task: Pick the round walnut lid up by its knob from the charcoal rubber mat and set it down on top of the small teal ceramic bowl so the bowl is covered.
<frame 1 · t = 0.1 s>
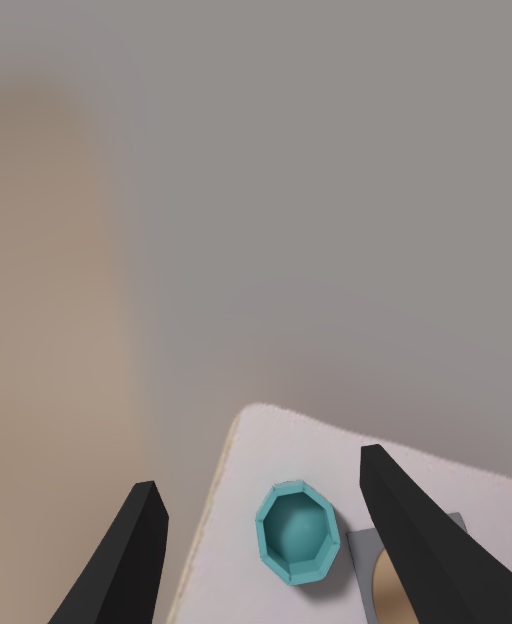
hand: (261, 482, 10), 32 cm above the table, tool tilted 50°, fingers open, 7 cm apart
lid: (426, 598, 32), resting on mat
bowl: (294, 522, 36), on the table
mat: (424, 596, 33), on the table
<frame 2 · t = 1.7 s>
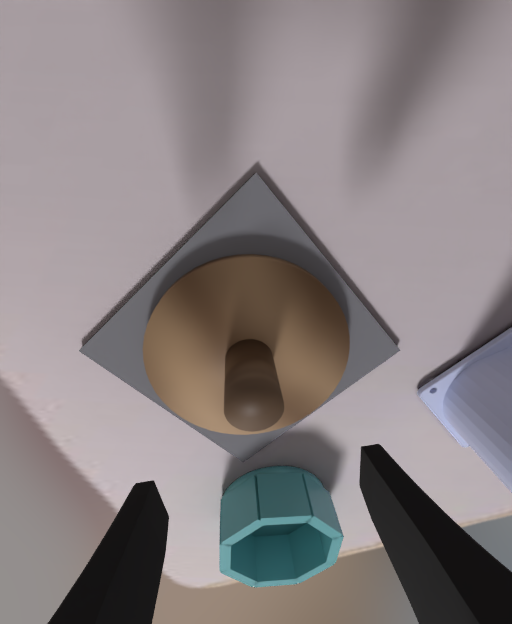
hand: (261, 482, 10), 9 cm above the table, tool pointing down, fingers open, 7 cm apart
lid: (248, 350, 18), resting on mat
bowl: (273, 500, 25), on the table
mat: (247, 347, 18), on the table
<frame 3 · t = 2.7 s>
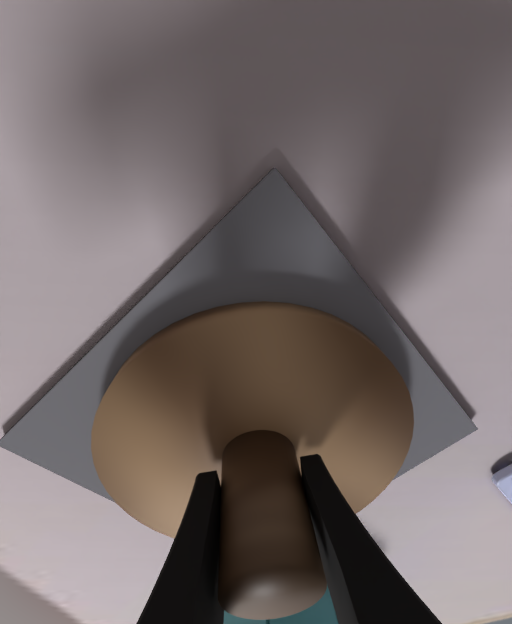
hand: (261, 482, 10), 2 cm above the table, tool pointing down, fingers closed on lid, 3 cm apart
lid: (256, 436, 12), resting on mat, touching gripper
bowl: (286, 599, 19), on the table
mat: (255, 428, 12), on the table
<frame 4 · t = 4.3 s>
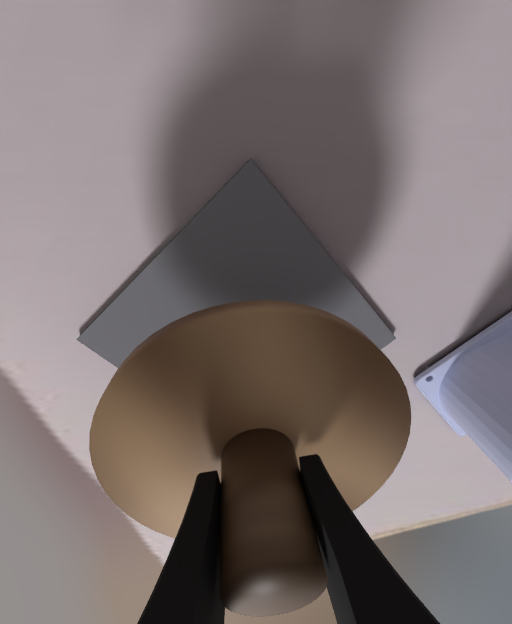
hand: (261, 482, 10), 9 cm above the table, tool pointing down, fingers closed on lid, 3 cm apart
lid: (255, 434, 12), point 7 cm above the table, touching gripper
mat: (244, 335, 18), on the table
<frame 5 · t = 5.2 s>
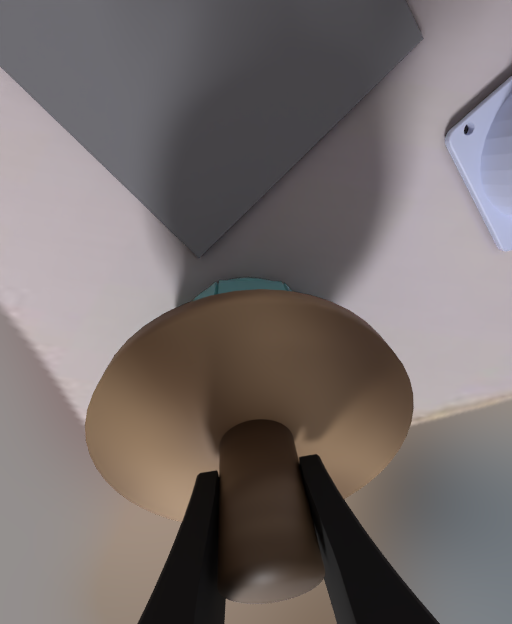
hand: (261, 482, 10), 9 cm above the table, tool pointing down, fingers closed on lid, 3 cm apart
lid: (254, 423, 12), point 7 cm above the table, touching gripper
bowl: (247, 342, 19), on the table
mat: (191, 18, 12), on the table
when the fingers open (7 cm above the table, at t = 5.9 s): lid drops 1 cm, resting on bowl.
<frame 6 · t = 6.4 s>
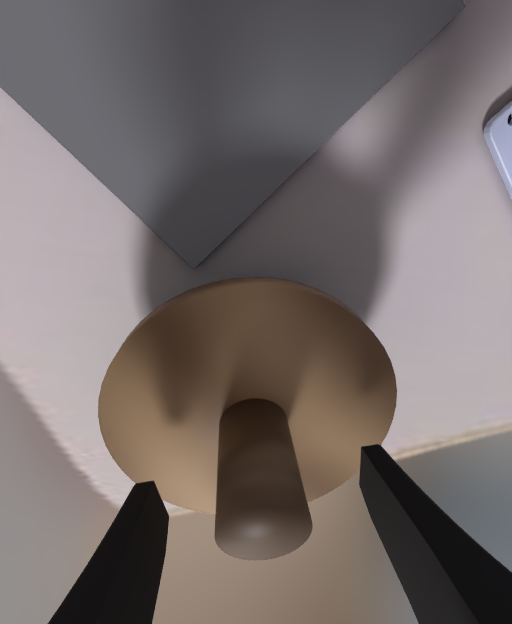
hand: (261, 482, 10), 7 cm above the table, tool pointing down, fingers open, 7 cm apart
lid: (251, 407, 13), point 4 cm above the table, touching bowl
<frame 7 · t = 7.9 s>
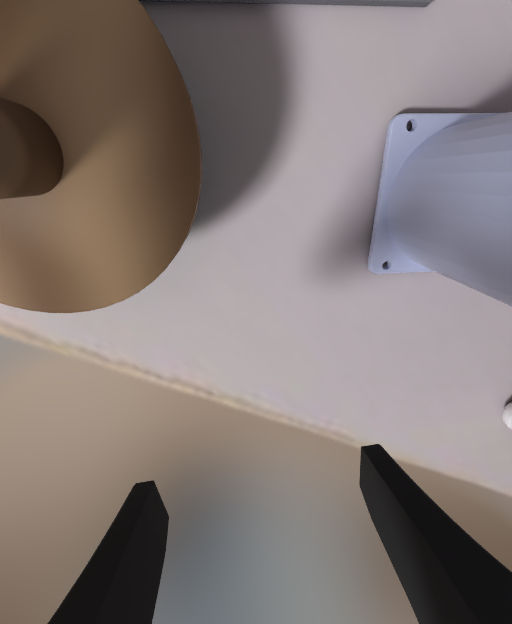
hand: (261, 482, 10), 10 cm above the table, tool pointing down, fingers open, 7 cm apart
lid: (36, 153, 11), point 4 cm above the table
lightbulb: (507, 404, 24), on the table
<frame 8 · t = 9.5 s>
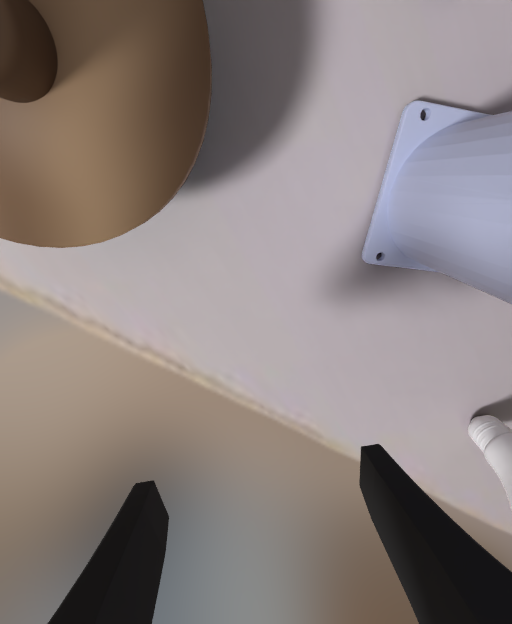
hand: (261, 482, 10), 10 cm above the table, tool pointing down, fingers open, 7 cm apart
lid: (27, 58, 10), point 4 cm above the table, touching bowl
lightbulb: (473, 418, 24), on the table
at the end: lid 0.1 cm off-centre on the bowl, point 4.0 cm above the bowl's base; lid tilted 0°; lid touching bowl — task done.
